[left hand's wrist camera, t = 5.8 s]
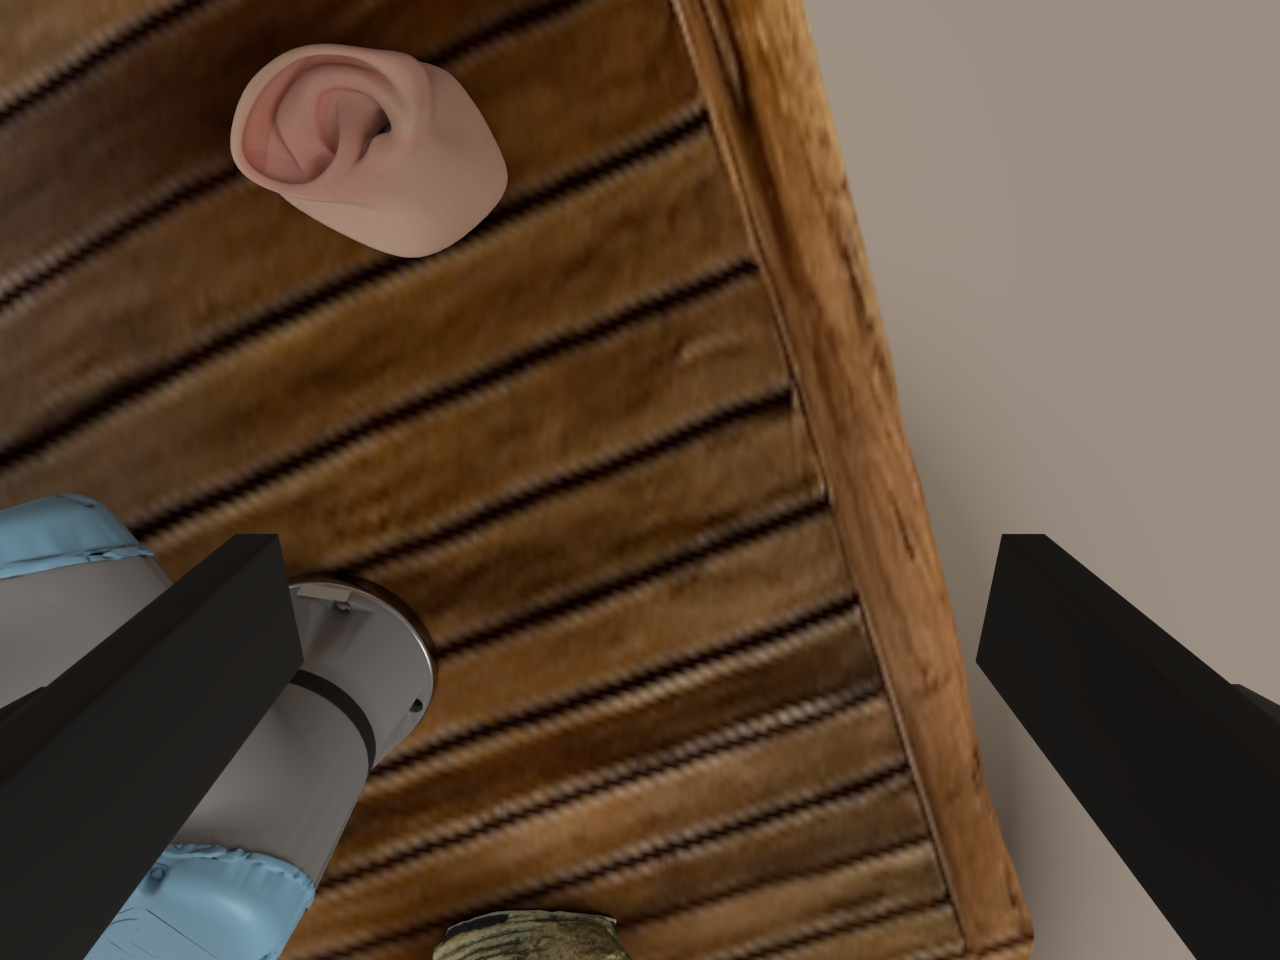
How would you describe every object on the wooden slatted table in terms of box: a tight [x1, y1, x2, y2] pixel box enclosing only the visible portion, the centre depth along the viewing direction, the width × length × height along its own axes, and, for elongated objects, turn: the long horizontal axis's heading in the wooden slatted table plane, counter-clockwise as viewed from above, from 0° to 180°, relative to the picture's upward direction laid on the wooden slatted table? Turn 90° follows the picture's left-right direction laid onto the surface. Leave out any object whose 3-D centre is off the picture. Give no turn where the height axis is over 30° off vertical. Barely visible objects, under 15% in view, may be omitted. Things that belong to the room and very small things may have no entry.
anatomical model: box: [231, 44, 508, 257], centre depth 39 cm, size 13×4×12 cm
